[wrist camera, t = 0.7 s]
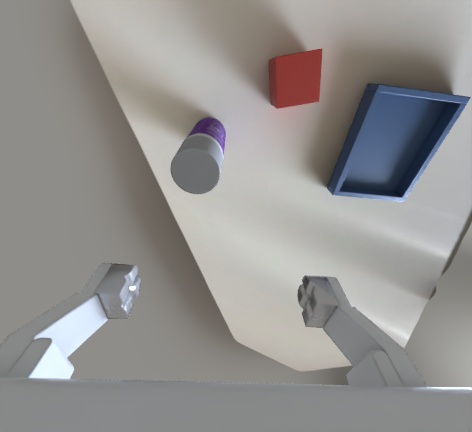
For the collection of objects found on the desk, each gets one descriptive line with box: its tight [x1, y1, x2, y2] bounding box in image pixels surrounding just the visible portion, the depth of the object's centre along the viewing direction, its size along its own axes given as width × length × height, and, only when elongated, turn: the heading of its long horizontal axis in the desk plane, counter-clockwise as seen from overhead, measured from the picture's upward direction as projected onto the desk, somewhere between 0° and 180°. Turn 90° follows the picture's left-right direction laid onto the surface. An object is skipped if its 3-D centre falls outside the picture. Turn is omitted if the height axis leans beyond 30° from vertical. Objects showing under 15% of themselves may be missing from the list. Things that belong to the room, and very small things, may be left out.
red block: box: [269, 49, 322, 109], centre depth 26 cm, size 5×5×5 cm
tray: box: [327, 84, 471, 202], centre depth 32 cm, size 16×13×3 cm
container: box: [171, 117, 226, 194], centre depth 25 cm, size 5×5×15 cm
